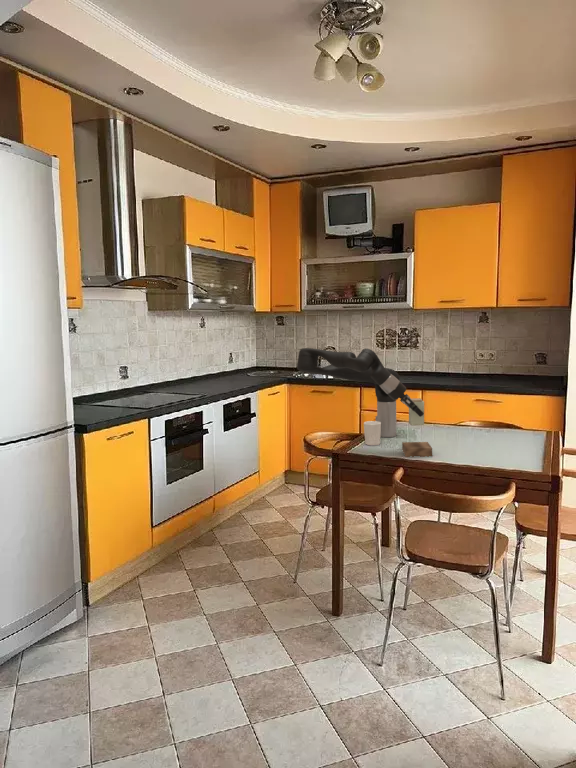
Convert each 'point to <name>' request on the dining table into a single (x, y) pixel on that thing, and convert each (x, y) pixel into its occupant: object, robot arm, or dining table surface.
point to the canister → (413, 416)
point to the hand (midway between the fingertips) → (420, 413)
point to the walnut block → (416, 449)
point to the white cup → (372, 432)
